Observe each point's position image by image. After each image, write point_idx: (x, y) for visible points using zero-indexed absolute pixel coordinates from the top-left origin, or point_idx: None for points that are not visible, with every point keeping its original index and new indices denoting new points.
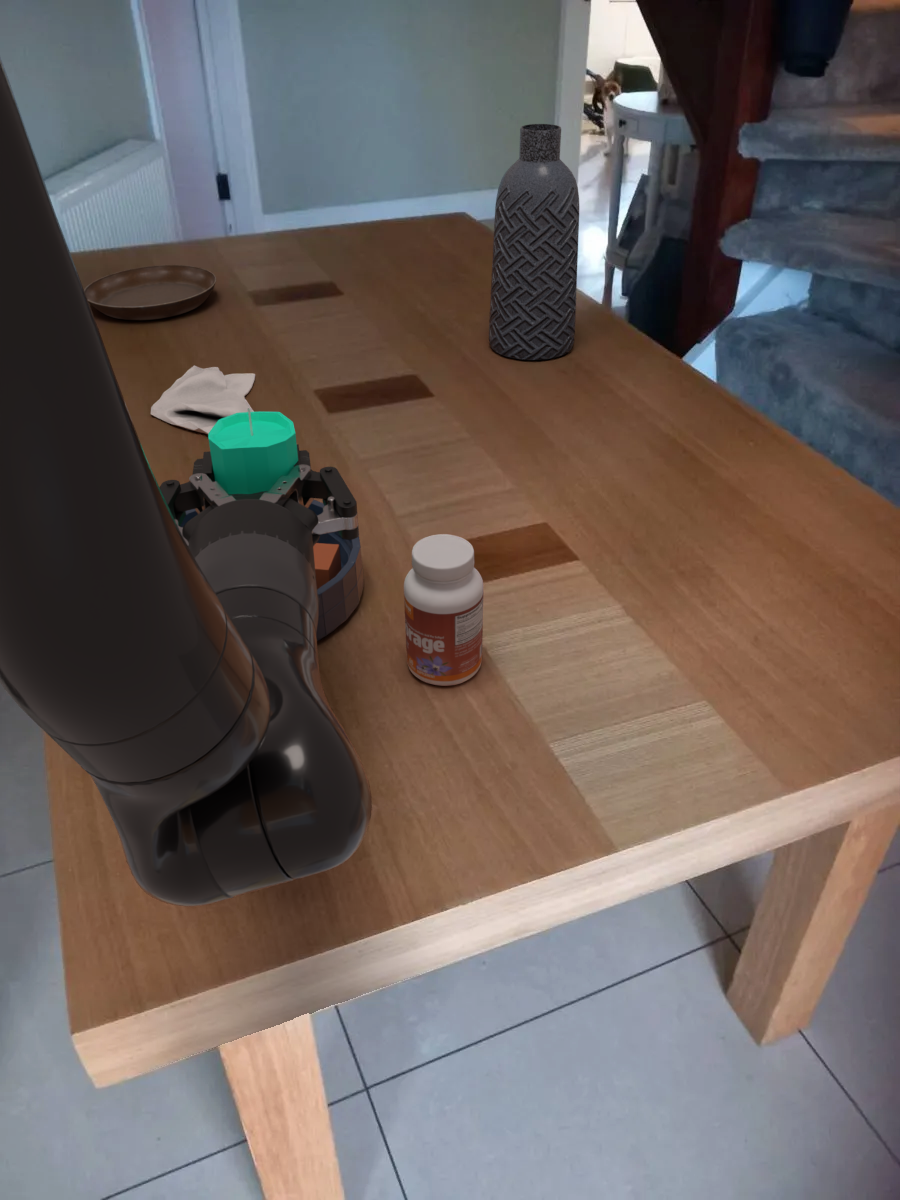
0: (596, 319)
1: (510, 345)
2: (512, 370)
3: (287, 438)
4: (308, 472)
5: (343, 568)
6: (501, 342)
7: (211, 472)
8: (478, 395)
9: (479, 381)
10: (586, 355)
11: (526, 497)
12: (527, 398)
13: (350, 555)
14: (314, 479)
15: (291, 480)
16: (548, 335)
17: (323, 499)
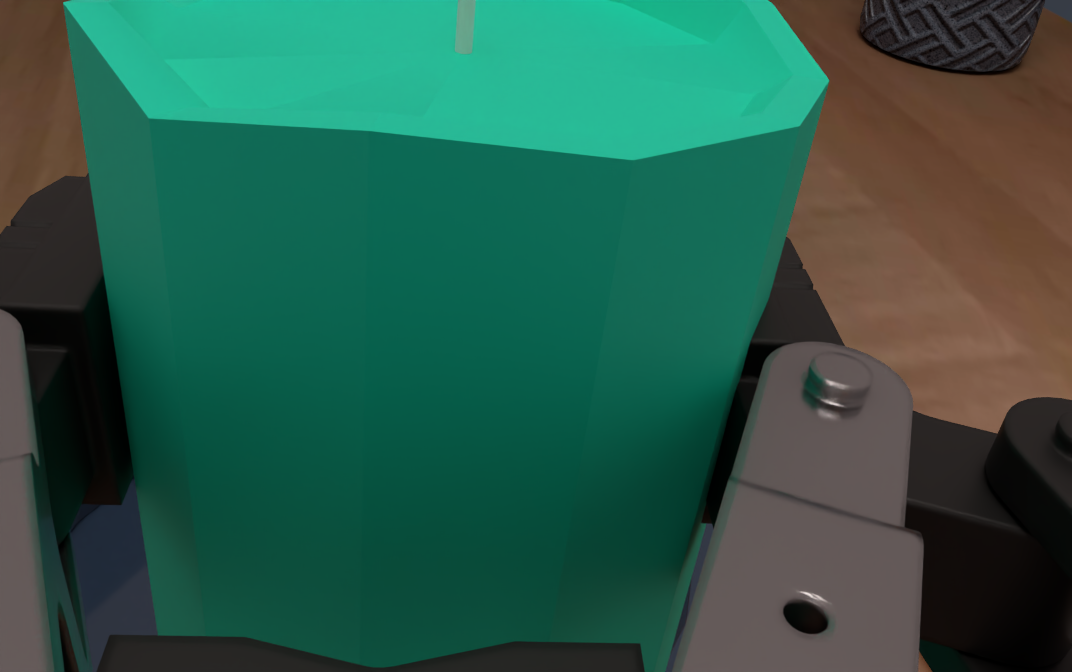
0: (1040, 19)
1: (915, 35)
2: (918, 82)
3: (798, 111)
4: (905, 434)
5: (675, 655)
6: (896, 27)
7: (82, 308)
8: (865, 120)
9: (858, 94)
10: (1052, 76)
11: (1069, 386)
12: (970, 140)
13: (692, 590)
14: (949, 503)
15: (875, 588)
16: (998, 24)
17: (958, 652)
